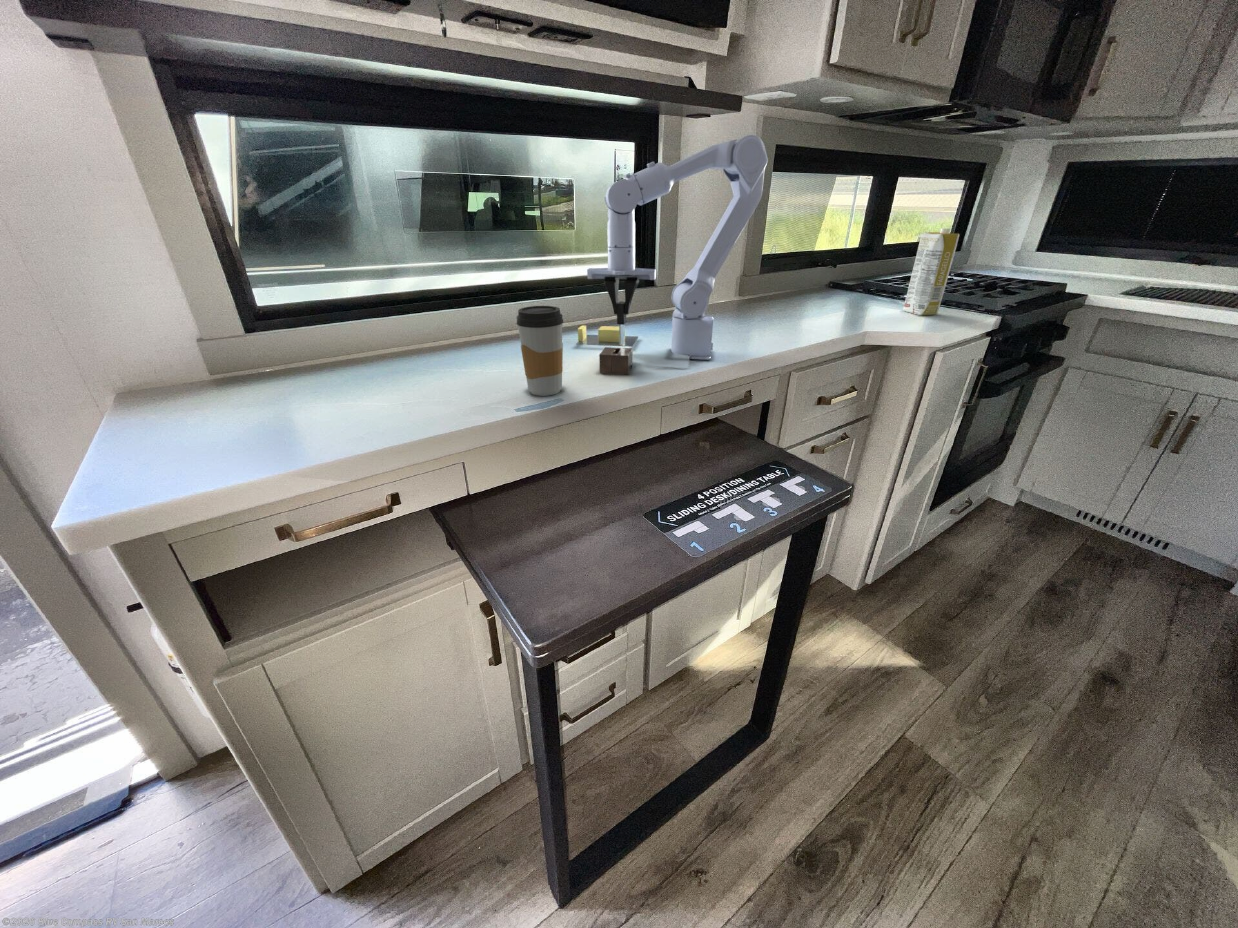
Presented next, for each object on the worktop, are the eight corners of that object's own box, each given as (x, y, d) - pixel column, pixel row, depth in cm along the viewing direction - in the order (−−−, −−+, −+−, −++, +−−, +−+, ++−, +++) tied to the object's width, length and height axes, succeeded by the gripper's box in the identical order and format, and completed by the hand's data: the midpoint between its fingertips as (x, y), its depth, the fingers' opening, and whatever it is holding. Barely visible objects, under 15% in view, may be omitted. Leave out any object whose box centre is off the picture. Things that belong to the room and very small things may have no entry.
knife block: (632, 366, 110) (632, 348, 108) (628, 374, 104) (628, 355, 103) (605, 365, 111) (605, 347, 109) (599, 373, 105) (599, 354, 103)
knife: (627, 341, 116) (626, 301, 111) (623, 345, 113) (622, 304, 108) (620, 340, 116) (619, 300, 111) (616, 344, 114) (615, 304, 109)
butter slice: (586, 337, 129) (586, 325, 127) (582, 341, 125) (582, 329, 124) (581, 337, 129) (581, 325, 128) (578, 341, 126) (577, 329, 124)
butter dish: (638, 340, 130) (638, 336, 130) (632, 350, 121) (632, 346, 121) (585, 338, 132) (585, 334, 132) (575, 348, 123) (575, 344, 123)
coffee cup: (576, 390, 96) (572, 309, 89) (539, 401, 91) (531, 316, 84) (551, 380, 101) (545, 303, 94) (514, 390, 97) (506, 309, 90)
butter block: (625, 338, 127) (625, 326, 126) (622, 342, 124) (622, 330, 123) (601, 338, 128) (601, 326, 127) (598, 341, 125) (598, 329, 123)
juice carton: (942, 315, 155) (966, 229, 144) (919, 316, 154) (942, 229, 142) (919, 309, 163) (941, 227, 152) (898, 310, 162) (918, 228, 150)
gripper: (582, 248, 103) (585, 316, 109) (653, 248, 100) (652, 318, 107) (590, 245, 109) (592, 310, 115) (657, 245, 106) (656, 311, 113)
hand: (621, 313), depth 111 cm, fingers closed on knife, 2 cm apart
